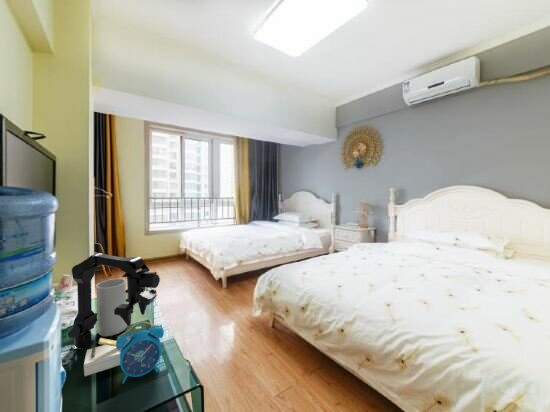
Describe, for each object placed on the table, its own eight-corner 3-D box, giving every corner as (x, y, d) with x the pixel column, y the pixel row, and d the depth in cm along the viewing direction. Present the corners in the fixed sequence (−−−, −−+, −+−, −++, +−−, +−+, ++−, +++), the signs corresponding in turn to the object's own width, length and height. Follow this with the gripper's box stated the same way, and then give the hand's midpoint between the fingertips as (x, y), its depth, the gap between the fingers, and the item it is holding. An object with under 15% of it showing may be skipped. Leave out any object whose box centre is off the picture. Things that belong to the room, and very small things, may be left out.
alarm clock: (116, 390, 88) (114, 338, 86) (118, 372, 97) (115, 324, 95) (166, 373, 96) (165, 325, 95) (163, 357, 105) (162, 313, 104)
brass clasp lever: (122, 344, 106) (123, 341, 107) (122, 347, 104) (123, 345, 104) (98, 340, 102) (100, 337, 102) (98, 343, 99) (99, 341, 99)
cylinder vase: (132, 323, 131) (131, 279, 129) (115, 337, 119) (113, 288, 117) (111, 322, 132) (109, 278, 131) (92, 336, 120) (89, 287, 118)
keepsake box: (129, 348, 111) (128, 334, 111) (129, 361, 102) (128, 347, 102) (87, 360, 103) (86, 346, 102) (84, 376, 94) (83, 360, 94)
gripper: (137, 296, 97) (139, 333, 98) (163, 279, 116) (164, 310, 117) (112, 295, 98) (114, 331, 100) (142, 278, 117) (143, 309, 118)
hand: (136, 319), depth 108 cm, fingers open, 9 cm apart
